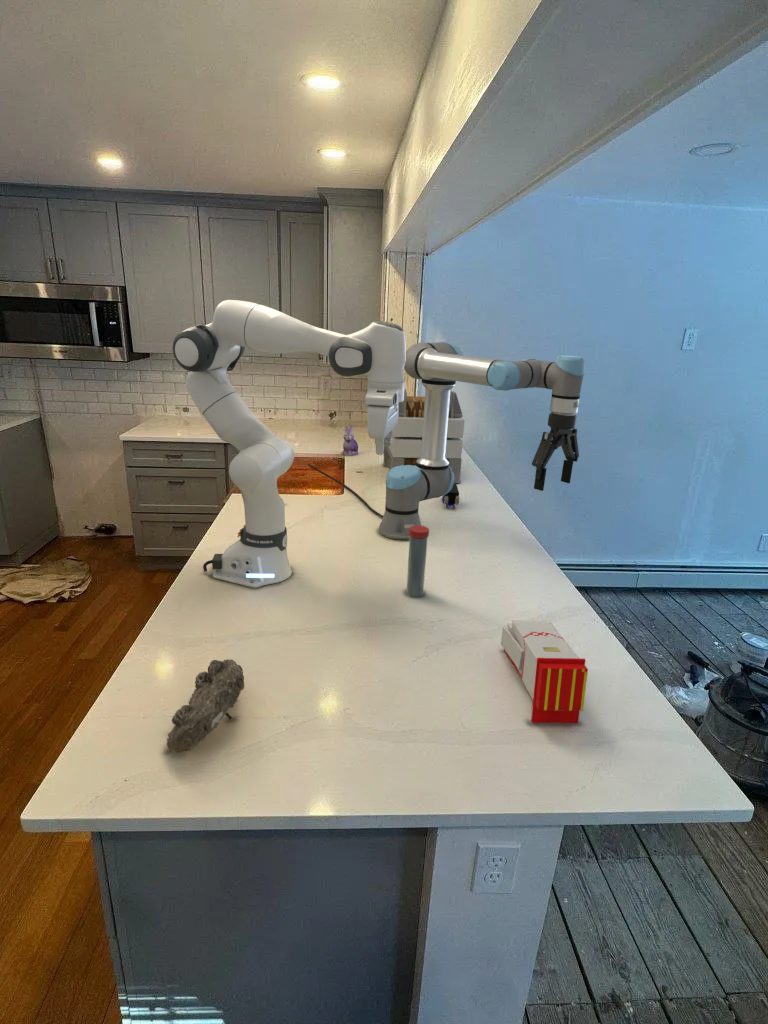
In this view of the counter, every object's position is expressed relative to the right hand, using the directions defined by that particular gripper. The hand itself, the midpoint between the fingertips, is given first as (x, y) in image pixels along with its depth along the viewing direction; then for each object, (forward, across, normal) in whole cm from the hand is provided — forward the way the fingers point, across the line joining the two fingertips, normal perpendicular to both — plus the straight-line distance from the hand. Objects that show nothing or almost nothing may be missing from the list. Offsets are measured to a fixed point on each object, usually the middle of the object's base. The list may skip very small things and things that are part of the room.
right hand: (552, 485), depth 166 cm
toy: (+28, -47, -32) cm, 64 cm away
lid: (+9, -41, +13) cm, 44 cm away
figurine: (+28, +41, +149) cm, 157 cm away
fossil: (+28, -107, 0) cm, 110 cm away
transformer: (+28, +46, +101) cm, 115 cm away
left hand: (-14, -52, +16) cm, 56 cm away
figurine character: (+28, +24, +60) cm, 70 cm away
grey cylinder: (+28, -41, +13) cm, 51 cm away
